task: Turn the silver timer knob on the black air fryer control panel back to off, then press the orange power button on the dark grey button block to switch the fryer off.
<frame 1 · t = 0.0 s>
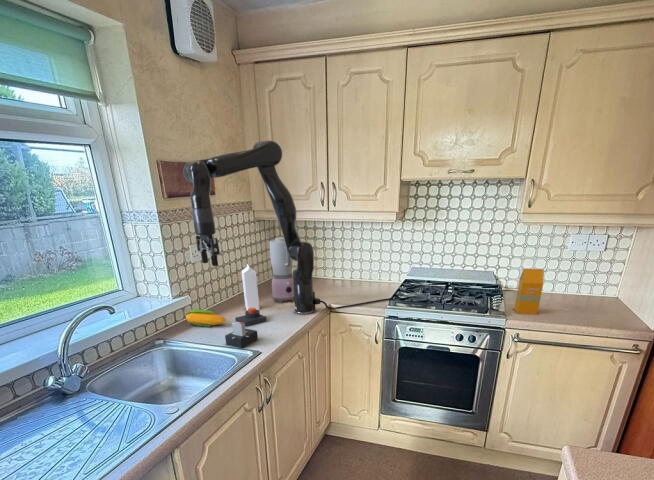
hand: (210, 264, 160), 29 cm above the countertop, tool pointing down, fingers open, 8 cm apart
power button: (252, 310, 187), point 5 cm above the countertop, slide at 0.2 cm
fryer panel: (242, 342, 163), on the countertop
milk: (252, 309, 205), on the countertop
timer knob: (239, 328, 159), point 7 cm above the countertop, hinge at 90.0°
blender: (285, 300, 218), on the countertop
button block: (251, 321, 187), on the countertop
corn: (207, 326, 183), on the countertop
orange juice: (525, 311, 194), on the countertop
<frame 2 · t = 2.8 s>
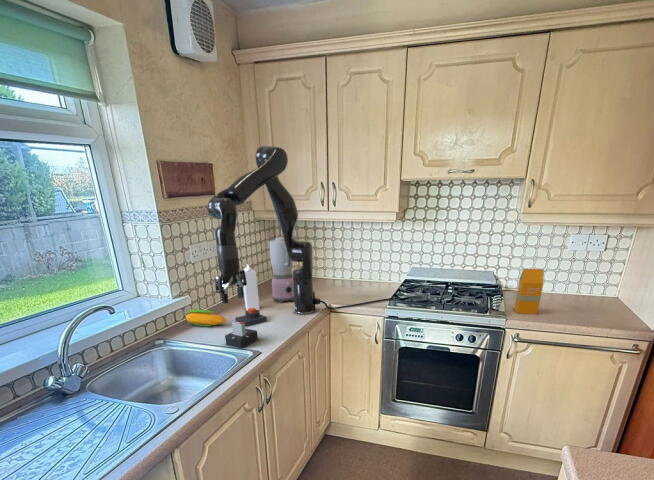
hand: (233, 300, 155), 18 cm above the countertop, tool pointing down, fingers open, 8 cm apart
nothing on the countertop moved.
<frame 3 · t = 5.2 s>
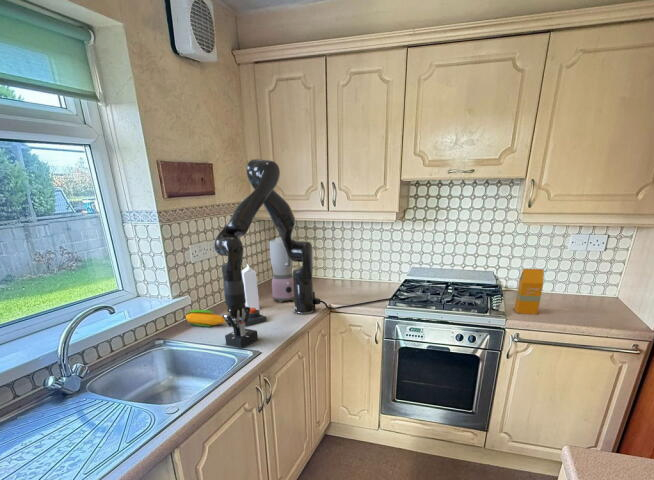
hand: (239, 334, 160), 4 cm above the countertop, tool pointing down, fingers closed on timer knob, 2 cm apart
timer knob: (239, 328, 159), point 7 cm above the countertop, hinge at 90.0°, touching gripper
everything else where it was.
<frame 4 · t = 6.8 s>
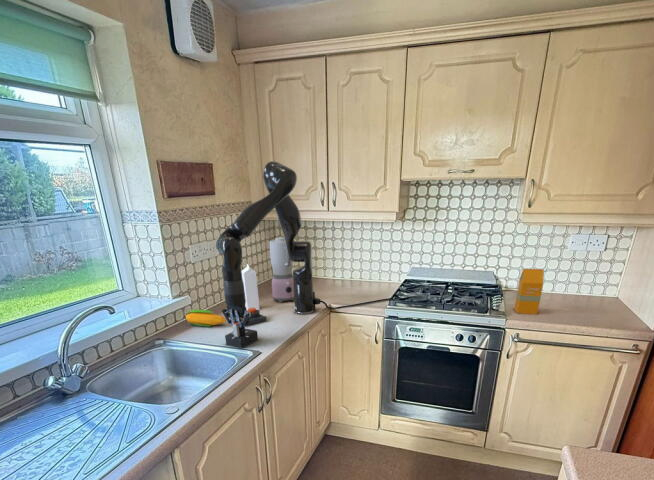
hand: (239, 334, 160), 4 cm above the countertop, tool pointing down, fingers closed
timer knob: (239, 328, 159), point 7 cm above the countertop, hinge at 0.7°
everything else where it was.
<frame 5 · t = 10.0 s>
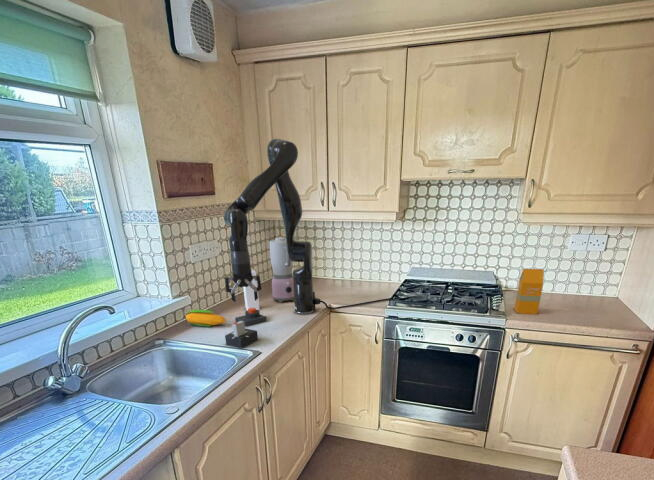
hand: (245, 300, 170), 13 cm above the countertop, tool pointing down, fingers open, 8 cm apart
nothing on the countertop moved.
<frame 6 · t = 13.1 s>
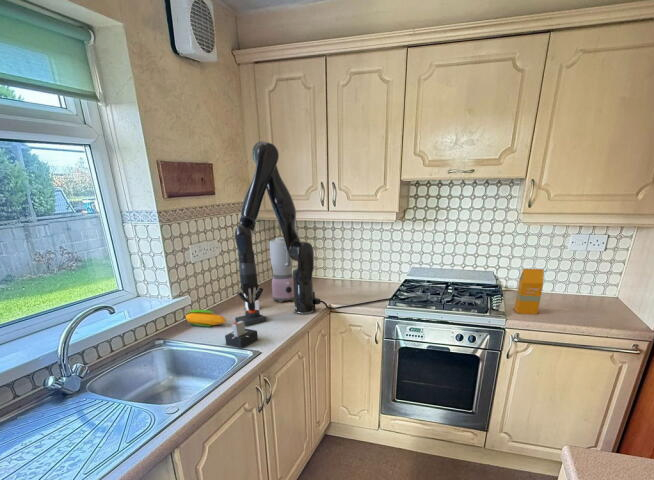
hand: (252, 310, 186), 5 cm above the countertop, tool pointing down, fingers closed
power button: (252, 311, 187), point 4 cm above the countertop, slide at -0.4 cm, touching gripper
everything else where it was.
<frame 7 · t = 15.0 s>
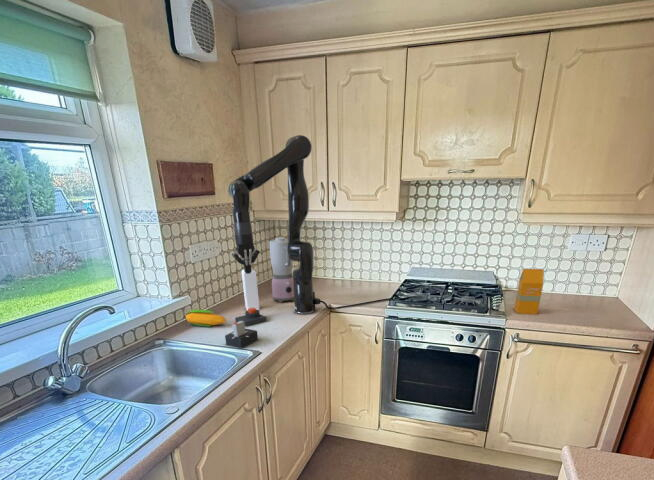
hand: (248, 273, 181), 21 cm above the countertop, tool pointing down, fingers closed
power button: (252, 310, 187), point 5 cm above the countertop, slide at 0.1 cm
everything else where it was.
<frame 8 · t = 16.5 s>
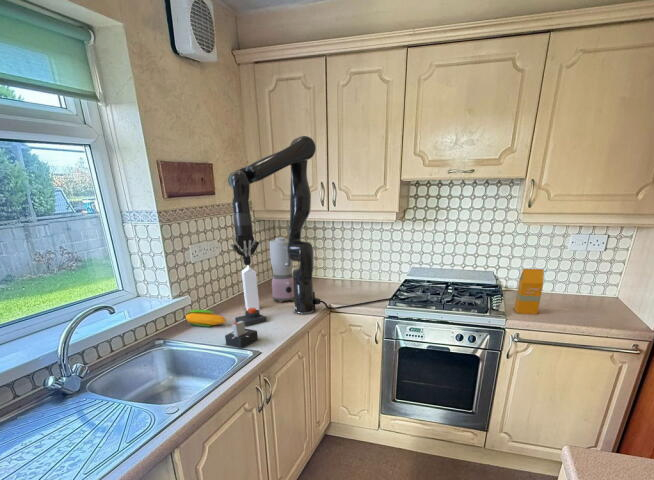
hand: (247, 264, 180), 25 cm above the countertop, tool pointing down, fingers closed
nothing on the countertop moved.
at the end: timer knob at +1° (first picture: +90°); power button pushed in 1.1 cm at the most during the clip, back to where it started at the end; power button slide at 0.1 cm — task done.
